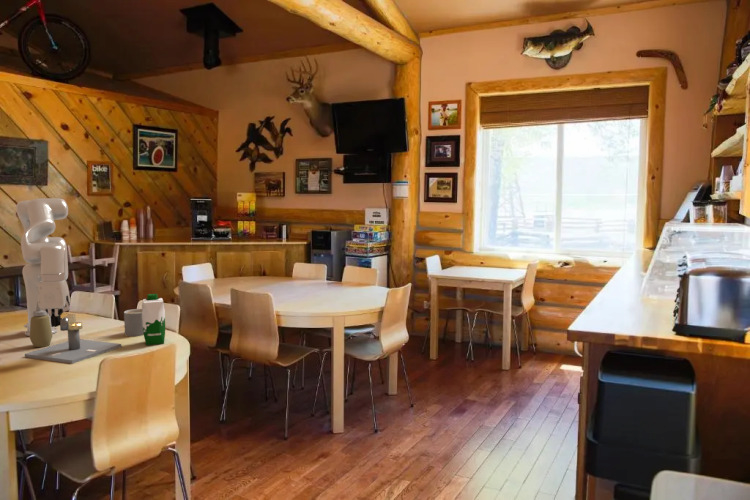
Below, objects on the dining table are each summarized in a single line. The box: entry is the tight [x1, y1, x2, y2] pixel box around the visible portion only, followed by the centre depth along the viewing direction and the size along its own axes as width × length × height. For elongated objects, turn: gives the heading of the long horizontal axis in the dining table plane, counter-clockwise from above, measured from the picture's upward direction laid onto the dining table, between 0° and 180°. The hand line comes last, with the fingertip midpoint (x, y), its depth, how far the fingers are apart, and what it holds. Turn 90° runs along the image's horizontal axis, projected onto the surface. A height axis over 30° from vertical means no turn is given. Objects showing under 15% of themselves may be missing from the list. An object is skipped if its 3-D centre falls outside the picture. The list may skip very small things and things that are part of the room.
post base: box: [24, 329, 123, 364], centre depth 229 cm, size 24×24×9 cm
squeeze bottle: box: [29, 302, 53, 348], centre depth 237 cm, size 8×8×18 cm
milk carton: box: [141, 293, 166, 346], centre depth 242 cm, size 9×9×20 cm
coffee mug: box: [123, 308, 144, 337], centre depth 259 cm, size 13×10×10 cm
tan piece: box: [59, 313, 83, 332], centre depth 224 cm, size 6×15×6 cm, turn 11°
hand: (56, 325), depth 219 cm, fingers closed
